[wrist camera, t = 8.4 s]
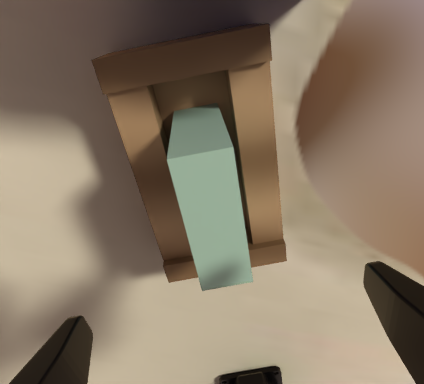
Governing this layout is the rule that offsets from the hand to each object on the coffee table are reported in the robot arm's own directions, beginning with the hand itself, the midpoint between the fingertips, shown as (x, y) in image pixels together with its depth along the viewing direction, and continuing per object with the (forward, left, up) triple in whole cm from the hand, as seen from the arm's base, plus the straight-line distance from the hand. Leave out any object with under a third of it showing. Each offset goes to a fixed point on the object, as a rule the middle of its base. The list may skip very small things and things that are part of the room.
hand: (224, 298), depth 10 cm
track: (0, 0, -12) cm, 12 cm away
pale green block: (0, 0, -11) cm, 11 cm away
